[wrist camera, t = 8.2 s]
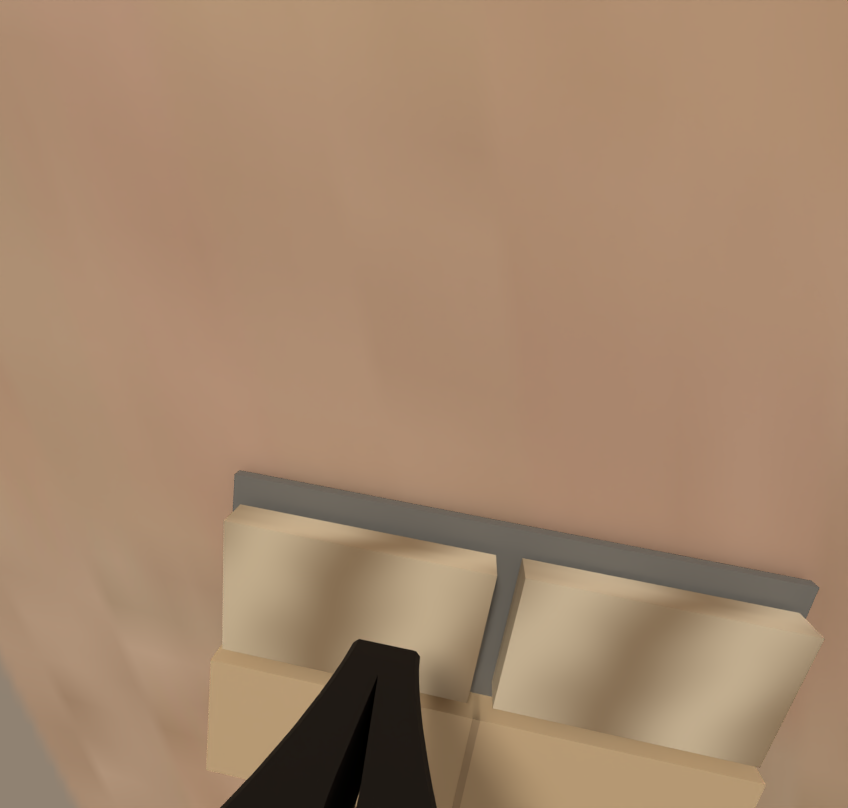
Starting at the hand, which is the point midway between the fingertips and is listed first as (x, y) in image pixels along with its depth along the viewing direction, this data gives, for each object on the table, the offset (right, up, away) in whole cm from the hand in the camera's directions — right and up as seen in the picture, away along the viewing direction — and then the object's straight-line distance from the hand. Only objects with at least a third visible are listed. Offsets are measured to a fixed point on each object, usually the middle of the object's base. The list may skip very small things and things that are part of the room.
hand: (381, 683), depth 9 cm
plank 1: (-2, -2, +9) cm, 9 cm away
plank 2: (+9, -4, +8) cm, 13 cm away
